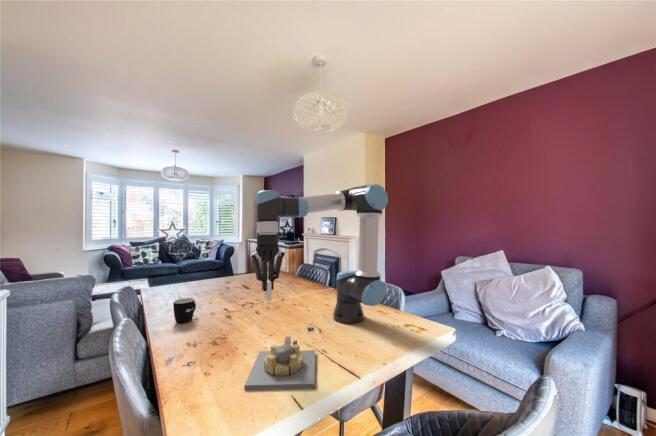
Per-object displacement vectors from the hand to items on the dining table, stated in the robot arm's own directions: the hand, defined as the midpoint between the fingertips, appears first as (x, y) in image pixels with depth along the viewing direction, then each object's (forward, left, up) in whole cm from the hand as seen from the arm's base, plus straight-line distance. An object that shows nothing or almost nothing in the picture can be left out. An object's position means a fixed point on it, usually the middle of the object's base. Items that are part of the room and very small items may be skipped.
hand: (267, 299), depth 96 cm
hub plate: (-7, +9, -20) cm, 23 cm away
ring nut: (-7, +5, -19) cm, 20 cm away
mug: (+46, -36, -20) cm, 62 cm away
